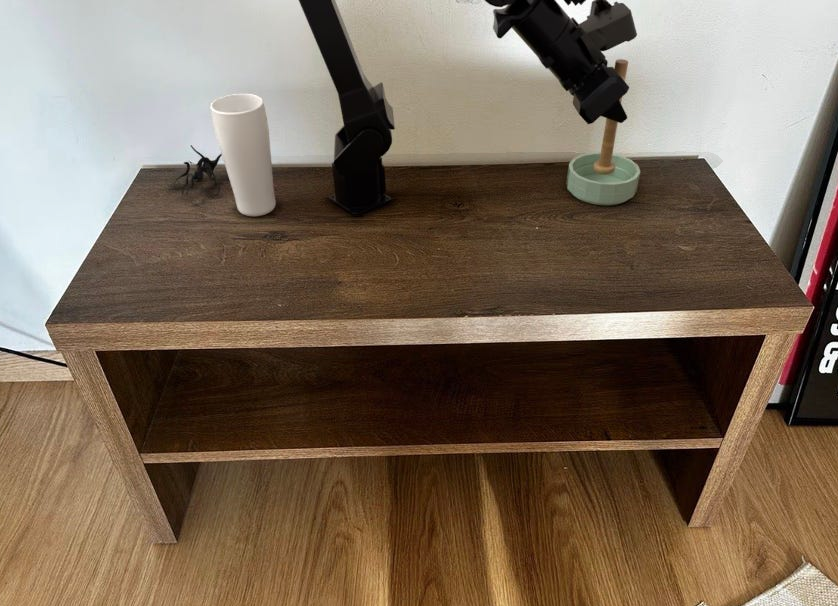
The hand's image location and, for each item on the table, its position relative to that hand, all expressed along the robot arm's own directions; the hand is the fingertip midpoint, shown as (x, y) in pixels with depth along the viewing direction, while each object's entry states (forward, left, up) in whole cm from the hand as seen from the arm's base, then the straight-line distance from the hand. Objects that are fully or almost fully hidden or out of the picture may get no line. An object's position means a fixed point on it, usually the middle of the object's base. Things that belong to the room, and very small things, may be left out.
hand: (622, 117), depth 94 cm
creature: (-44, +40, -11) cm, 61 cm away
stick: (-1, +1, -8) cm, 8 cm away
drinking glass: (-41, +29, -11) cm, 52 cm away
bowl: (-1, +1, -11) cm, 11 cm away
